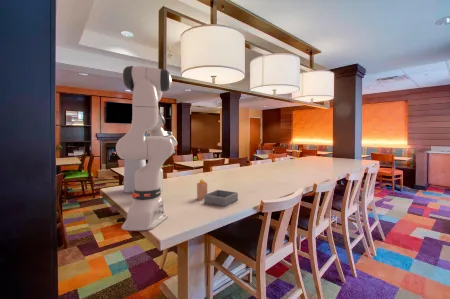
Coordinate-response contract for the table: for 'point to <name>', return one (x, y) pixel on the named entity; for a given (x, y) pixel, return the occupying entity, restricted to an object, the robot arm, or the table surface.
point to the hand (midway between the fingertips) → (168, 155)
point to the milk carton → (161, 180)
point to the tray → (221, 197)
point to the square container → (201, 190)
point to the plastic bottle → (131, 174)
